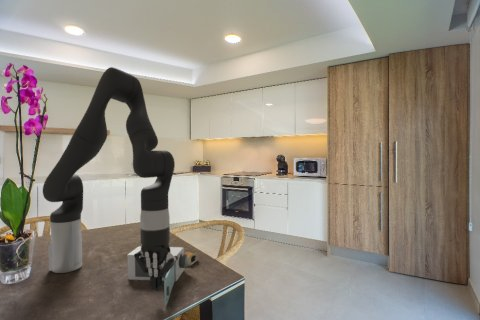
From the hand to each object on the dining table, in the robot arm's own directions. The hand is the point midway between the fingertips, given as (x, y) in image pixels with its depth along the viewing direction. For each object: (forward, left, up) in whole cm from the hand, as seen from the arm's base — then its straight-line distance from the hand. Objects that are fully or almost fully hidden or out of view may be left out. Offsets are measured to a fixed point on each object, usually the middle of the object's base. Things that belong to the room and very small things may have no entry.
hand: (156, 288), depth 77 cm
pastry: (0, +28, -4) cm, 29 cm away
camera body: (-7, +17, -4) cm, 19 cm away
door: (+2, +5, -3) cm, 7 cm away
